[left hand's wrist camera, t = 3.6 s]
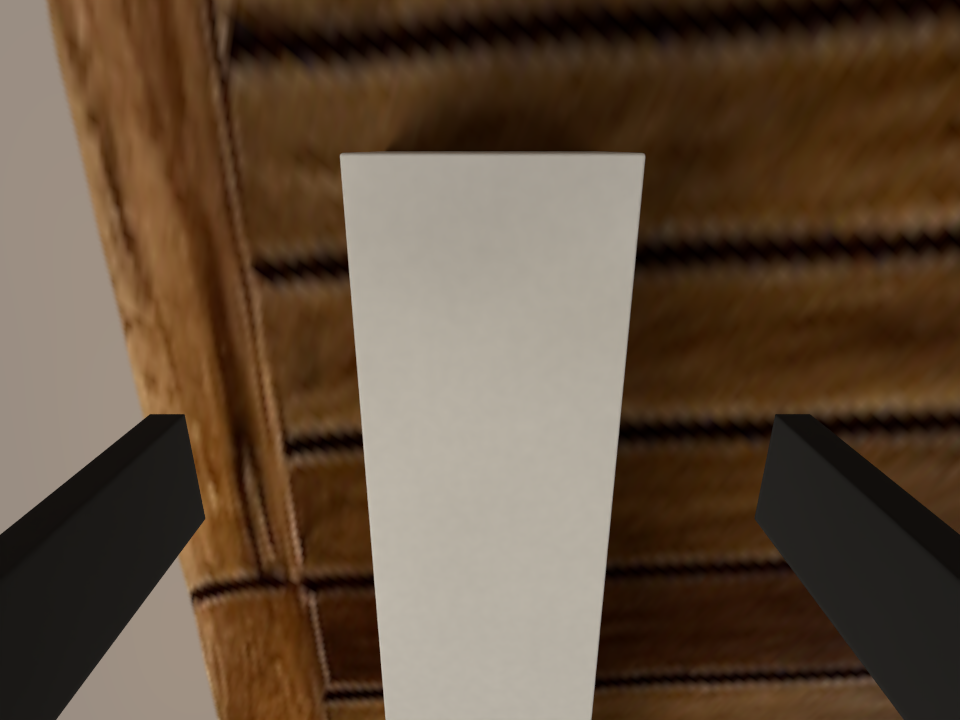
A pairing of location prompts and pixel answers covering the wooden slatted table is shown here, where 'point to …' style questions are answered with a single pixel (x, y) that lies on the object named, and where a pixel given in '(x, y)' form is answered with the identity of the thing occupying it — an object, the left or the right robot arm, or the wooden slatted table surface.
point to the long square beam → (490, 417)
